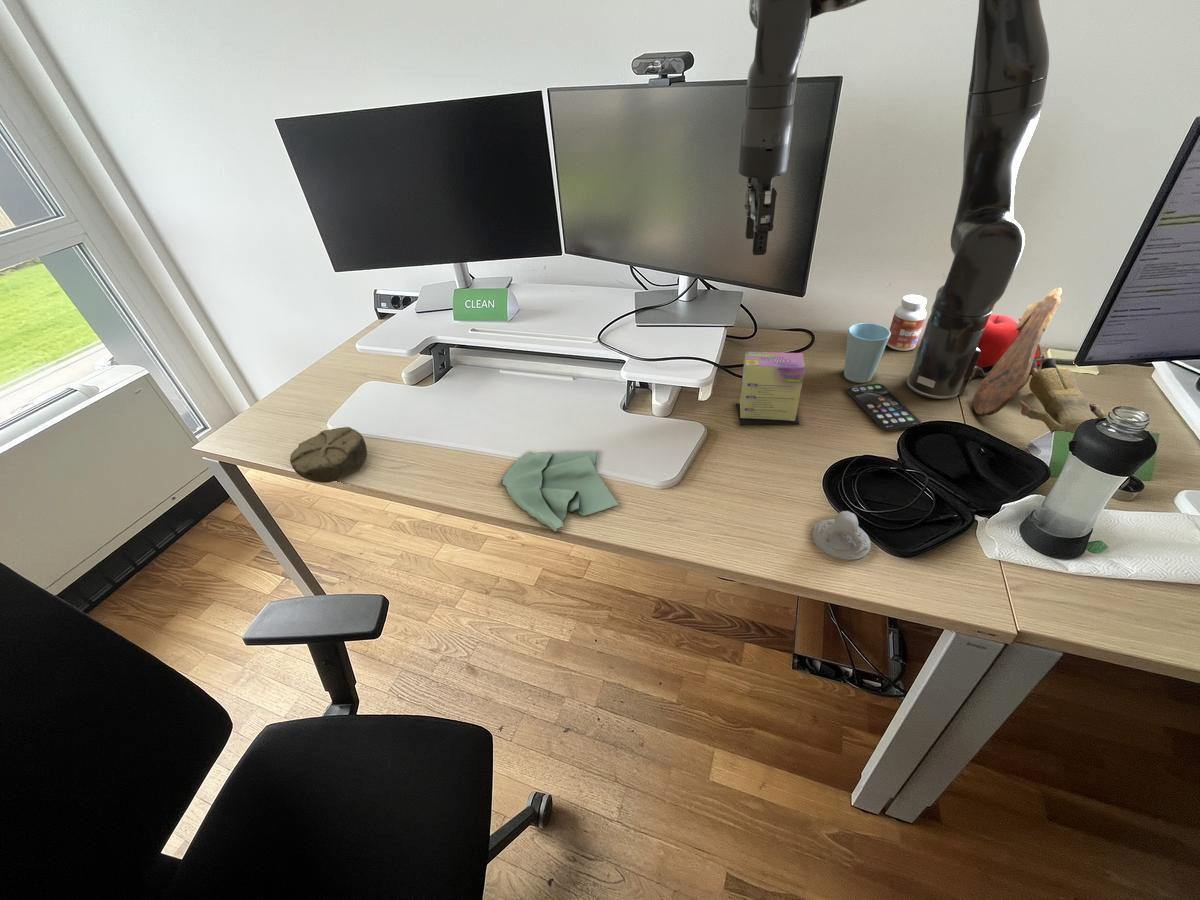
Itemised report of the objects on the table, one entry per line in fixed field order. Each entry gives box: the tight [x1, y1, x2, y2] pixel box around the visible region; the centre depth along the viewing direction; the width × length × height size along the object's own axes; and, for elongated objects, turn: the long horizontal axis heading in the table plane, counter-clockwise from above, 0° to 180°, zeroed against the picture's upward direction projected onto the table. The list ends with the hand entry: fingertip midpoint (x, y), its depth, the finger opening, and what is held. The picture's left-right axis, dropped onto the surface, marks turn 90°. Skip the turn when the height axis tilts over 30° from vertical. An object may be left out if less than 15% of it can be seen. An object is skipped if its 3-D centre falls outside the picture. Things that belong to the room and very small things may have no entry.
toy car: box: [1018, 317, 1045, 366], centre depth 107 cm, size 12×5×3 cm
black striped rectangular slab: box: [735, 402, 800, 426], centre depth 103 cm, size 11×7×1 cm, turn 85°
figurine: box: [1019, 357, 1131, 490], centre depth 89 cm, size 11×9×30 cm
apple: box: [975, 313, 1020, 368], centre depth 108 cm, size 10×10×11 cm
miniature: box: [812, 510, 872, 561], centre depth 76 cm, size 8×8×5 cm
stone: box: [289, 426, 368, 484], centre depth 100 cm, size 13×13×5 cm
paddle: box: [972, 287, 1063, 417], centre depth 99 cm, size 8×3×30 cm
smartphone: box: [846, 382, 922, 432], centre depth 102 cm, size 7×1×15 cm
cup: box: [843, 322, 891, 384], centre depth 108 cm, size 8×8×10 cm
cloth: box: [501, 451, 619, 532], centre depth 91 cm, size 20×22×2 cm
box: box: [739, 351, 806, 421], centre depth 100 cm, size 10×6×12 cm, turn 79°
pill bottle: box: [886, 294, 928, 352], centre depth 117 cm, size 6×6×11 cm
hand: (755, 246), depth 92 cm, fingers open, 8 cm apart
